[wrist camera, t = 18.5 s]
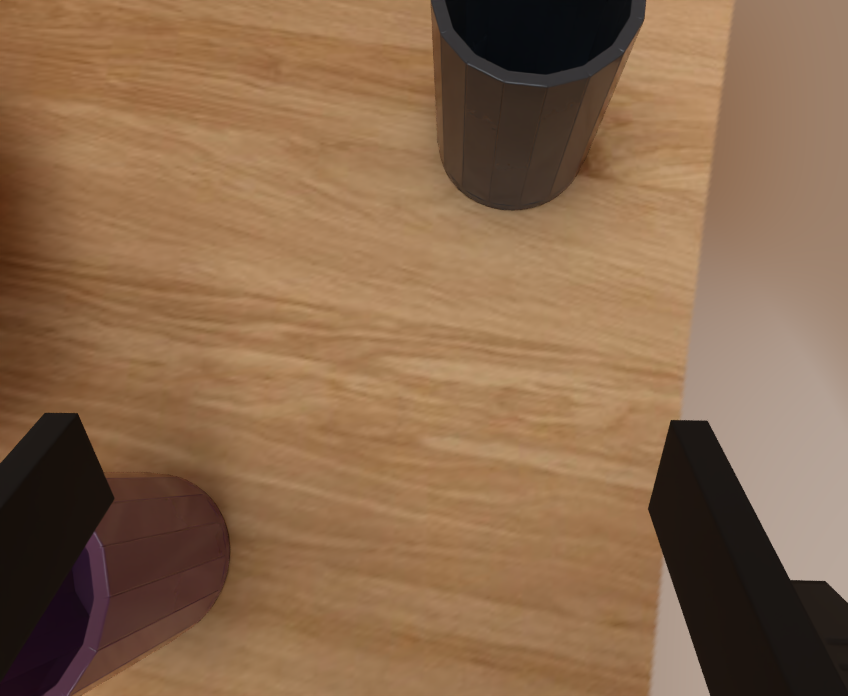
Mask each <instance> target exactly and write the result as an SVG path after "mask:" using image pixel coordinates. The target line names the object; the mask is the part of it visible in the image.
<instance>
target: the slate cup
mask: <svg viewBox="0 0 848 696" xmlns="http://www.w3.org/2000/svg"><path fill="white" fill-rule="evenodd" d="M645 7H646V0H431V20H432V40H433V61H434V81H435V101H436V122H437V142H438V145H439V152H440V157H441V161H442V164H443V167H444V169H445V171H446V173H447V175H448V176H449V178H450V179H451V181H452V182H453V183H454V184H455V185H456V187H457V188H458V189H459V190H460V191H462V192H463V193H464V194H465V195H466V196H468V197H470V198H471V199H473V200H474V201H476V202H479V203H481V204H483V205H486V206H489V207H492V208H497V209H502V210H522V209H528V208H533V207H536V206H539V205H542V204H544V203H546V202H548V201H550V200H552V199H554V198H555V197H557V196H558V195H559V194H561V193H562V192H563V191H564V190H565V189H566V188H567V187H568V186H569V185H570V184H571V183H572V182H573V180H574V179H575V177H576V176H577V174H578V172H579V170H580V168H581V166H582V164H583V163H584V161H585V159H586V157H587V155H588V152H589V150H590V148H591V145H592V143H593V140H594V138H595V136H596V133H597V131H598V129H599V126H600V124H601V121H602V119H603V117H604V114H605V112H606V110H607V107H608V105H609V102H610V100H611V98H612V95H613V93H614V91H615V88H616V86H617V83H618V81H619V79H620V76H621V74H622V72H623V69H624V67H625V64H626V62H627V60H628V57H629V55H630V53H631V50H632V48H633V45H634V43H635V41H636V38H637V36H638V34H639V31H640V29H641V26H642V24H643V21H644V17H645Z"/></svg>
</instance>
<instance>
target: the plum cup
mask: <svg viewBox="0 0 848 696" xmlns="http://www.w3.org/2000/svg"><path fill="white" fill-rule="evenodd" d="M104 475H105V477H106V479H107V482H108V484H109V486H110V488H111V491H112V493H113V495H114V498H115V499H114V501H113V502H112V504H111V506H110V507H109V509H108V510H107V512H106V514H105V515H104V517H103V518H102V520H101V522H100V523H99V525H98V526H97V528H96V530H95V531H94V533H93V535H92V536H91V538H90V539H89V541H88V543H87V544H86V546H85V547H84V549H83V551H82V552H81V554H80V556H79V557H78V559H77V560H76V562H75V564H74V565H73V567H72V568H71V570H70V572H69V573H68V575H67V577H66V578H65V580H64V581H63V583H62V585H61V586H60V588H59V589H58V591H57V593H56V594H55V596H54V597H53V599H52V601H51V602H50V604H49V606H48V607H47V609H46V610H45V612H44V614H43V615H42V617H41V618H40V620H39V622H38V623H37V625H36V627H35V628H34V630H33V631H32V633H31V635H30V636H29V638H28V639H27V641H26V643H25V644H24V646H23V648H22V649H21V651H20V652H19V654H18V656H17V657H16V659H15V660H14V662H13V664H12V665H11V667H10V668H9V670H8V672H7V673H6V675H5V677H4V678H3V680H2V681H1V683H0V696H82V695H83V694H85V693H87V692H88V691H90V690H92V689H93V688H95V687H97V686H98V685H100V684H102V683H103V682H105V681H107V680H108V679H110V678H112V677H113V676H115V675H117V674H118V673H120V672H122V671H123V670H125V669H127V668H128V667H130V666H132V665H133V664H135V663H137V662H138V661H140V660H142V659H143V658H145V657H147V656H148V655H150V654H152V653H153V652H155V651H157V650H159V649H160V648H162V647H164V646H165V645H167V644H169V643H170V642H172V641H173V640H175V639H176V638H177V637H179V636H180V635H181V634H183V633H184V632H186V631H187V630H189V629H190V628H192V627H193V626H194V625H195V624H197V623H198V622H199V621H200V620H201V619H202V618H203V617H204V616H205V615H206V614H207V613H208V611H209V610H210V609H211V607H212V606H213V604H214V603H215V601H216V600H217V598H218V596H219V594H220V592H221V590H222V587H223V585H224V582H225V579H226V575H227V572H228V566H229V557H230V546H229V537H228V533H227V528H226V525H225V522H224V520H223V517H222V515H221V513H220V511H219V509H218V508H217V506H216V505H215V503H214V502H213V501H212V499H211V498H210V497H209V496H208V495H207V494H206V493H205V492H204V491H203V490H201V489H200V488H199V487H198V486H196V485H195V484H193V483H191V482H189V481H188V480H185V479H183V478H180V477H177V476H173V475H169V474H158V473H150V472H104Z"/></svg>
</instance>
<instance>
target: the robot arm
mask: <svg viewBox="0 0 848 696" xmlns="http://www.w3.org/2000/svg"><path fill="white" fill-rule="evenodd" d="M114 499H115V498H114V495H113V493H112V491H111V488H110V486H109V484H108V482H107V479H106V477H105V475H104V472H103V470H102V468H101V466H100V463H99V461H98V459H97V456H96V454H95V452H94V450H93V447H92V445H91V443H90V440H89V438H88V436H87V433H86V431H85V429H84V427H83V424H82V422H81V420H80V417H79V415H78V413H44V415H43V416H42V417H41V418H40V419H39V420H38V421H37V422H36V424H35V425H34V426H33V427H32V428H31V429H30V430H29V432H28V433H27V434H26V435H25V436H24V437H23V438H22V439H21V441H20V442H19V443H18V444H17V445H16V446H15V447H14V449H13V450H12V451H11V452H10V453H9V454H8V455H7V456H6V458H5V459H4V460H3V461H2V462H1V463H0V683H1V681H2V680H3V678H4V677H5V675H6V673H7V672H8V670H9V668H10V667H11V665H12V664H13V662H14V660H15V659H16V657H17V656H18V654H19V652H20V651H21V649H22V648H23V646H24V644H25V643H26V641H27V639H28V638H29V636H30V635H31V633H32V631H33V630H34V628H35V627H36V625H37V623H38V622H39V620H40V618H41V617H42V615H43V614H44V612H45V610H46V609H47V607H48V606H49V604H50V602H51V601H52V599H53V597H54V596H55V594H56V593H57V591H58V589H59V588H60V586H61V585H62V583H63V581H64V580H65V578H66V577H67V575H68V573H69V572H70V570H71V568H72V567H73V565H74V564H75V562H76V560H77V559H78V557H79V556H80V554H81V552H82V551H83V549H84V547H85V546H86V544H87V543H88V541H89V539H90V538H91V536H92V535H93V533H94V531H95V530H96V528H97V526H98V525H99V523H100V522H101V520H102V518H103V517H104V515H105V514H106V512H107V510H108V509H109V507H110V506H111V504H112V502H113V501H114ZM648 510H649V513H650V516H651V519H652V522H653V525H654V528H655V531H656V534H657V537H658V540H659V543H660V546H661V549H662V552H663V555H664V558H665V561H666V564H667V567H668V570H669V573H670V576H671V579H672V582H673V585H674V588H675V591H676V594H677V597H678V600H679V603H680V606H681V609H682V612H683V615H684V618H685V621H686V624H687V627H688V630H689V633H690V636H691V639H692V642H693V645H694V648H695V651H696V654H697V657H698V660H699V663H700V666H701V669H702V672H703V675H704V678H705V681H706V684H707V687H708V690H709V693H710V696H848V603H847V602H846V601H845V600H844V599H843V598H842V597H841V596H840V595H839V594H838V593H837V592H836V591H835V590H834V589H833V588H832V587H831V586H830V585H829V584H828V583H827V582H826V581H802V580H801V581H800V580H790V579H789V577H788V575H787V573H786V571H785V569H784V567H783V565H782V563H781V561H780V559H779V557H778V556H777V554H776V552H775V550H774V548H773V546H772V544H771V542H770V540H769V538H768V536H767V535H766V532H765V531H764V529H763V527H762V525H761V523H760V521H759V519H758V517H757V515H756V513H755V511H754V509H753V507H752V506H751V504H750V502H749V500H748V498H747V496H746V494H745V492H744V490H743V488H742V486H741V484H740V482H739V481H738V478H737V477H736V475H735V473H734V471H733V469H732V467H731V465H730V463H729V461H728V459H727V457H726V455H725V454H724V452H723V450H722V448H721V446H720V444H719V442H718V440H717V438H716V436H715V434H714V432H713V430H712V429H711V426H710V425H709V423H708V421H692V420H691V421H690V420H688V421H687V420H671V422H670V426H669V429H668V433H667V437H666V441H665V445H664V449H663V453H662V457H661V460H660V464H659V468H658V472H657V476H656V480H655V484H654V488H653V492H652V495H651V499H650V503H649V507H648Z"/></svg>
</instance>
